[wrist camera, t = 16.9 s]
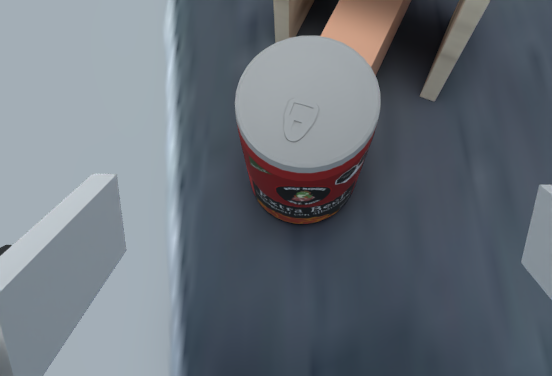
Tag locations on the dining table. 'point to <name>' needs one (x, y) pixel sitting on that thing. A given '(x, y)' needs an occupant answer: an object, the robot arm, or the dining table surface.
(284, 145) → the canned food
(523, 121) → the dining table surface
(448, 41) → the beige arch block
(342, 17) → the orange rectangular block
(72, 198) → the robot arm
